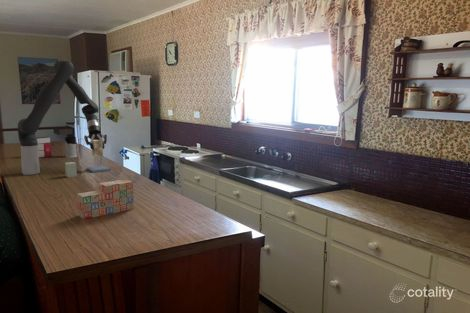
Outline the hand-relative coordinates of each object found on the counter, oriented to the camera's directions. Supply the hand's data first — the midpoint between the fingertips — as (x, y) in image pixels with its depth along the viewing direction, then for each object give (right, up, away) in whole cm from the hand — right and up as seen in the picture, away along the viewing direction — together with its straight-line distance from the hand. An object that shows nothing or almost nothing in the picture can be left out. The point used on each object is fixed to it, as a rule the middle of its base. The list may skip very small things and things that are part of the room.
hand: (97, 148), depth 239 cm
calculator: (-60, -5, +50) cm, 78 cm away
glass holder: (-37, -5, +54) cm, 66 cm away
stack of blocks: (+33, -28, -81) cm, 92 cm away
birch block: (-1, -4, +2) cm, 5 cm away
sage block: (-11, -17, -14) cm, 24 cm away
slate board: (-1, -14, +4) cm, 14 cm away
